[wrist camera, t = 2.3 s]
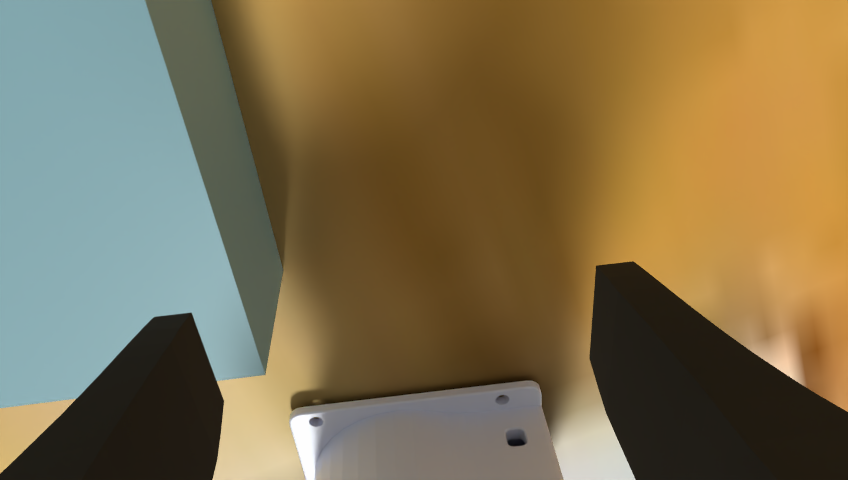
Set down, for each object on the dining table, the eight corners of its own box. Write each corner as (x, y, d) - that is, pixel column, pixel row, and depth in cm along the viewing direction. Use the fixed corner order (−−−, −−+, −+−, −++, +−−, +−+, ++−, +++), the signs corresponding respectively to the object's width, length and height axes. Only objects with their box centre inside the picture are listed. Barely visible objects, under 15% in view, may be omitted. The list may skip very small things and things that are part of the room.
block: (196, -63, 16) (139, -18, 12) (284, 265, 22) (265, 374, 18) (-130, -24, 16) (-302, 34, 12) (41, 295, 22) (-36, 412, 17)
